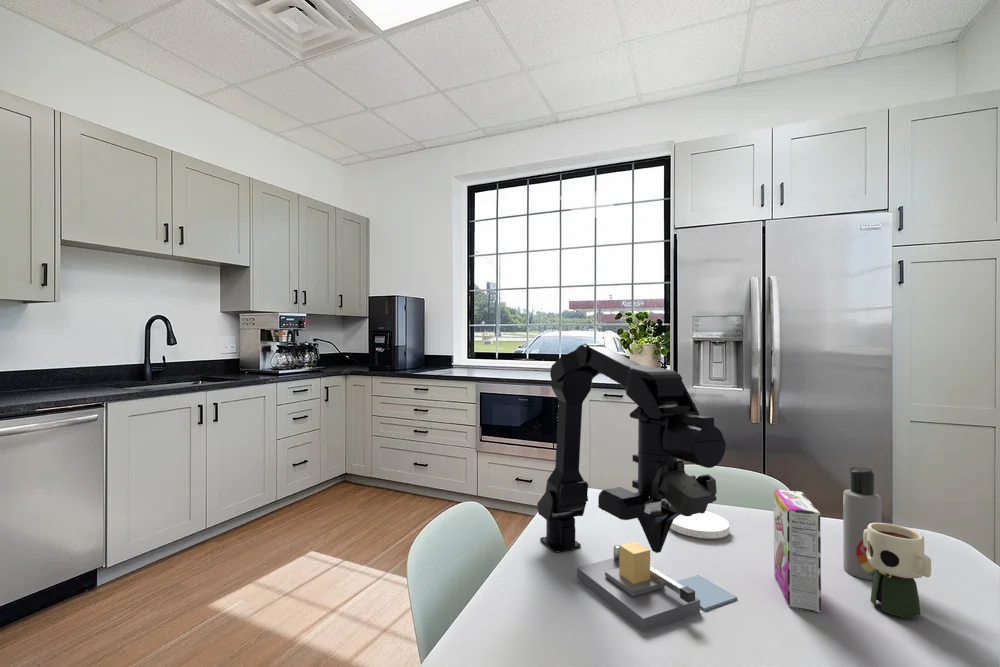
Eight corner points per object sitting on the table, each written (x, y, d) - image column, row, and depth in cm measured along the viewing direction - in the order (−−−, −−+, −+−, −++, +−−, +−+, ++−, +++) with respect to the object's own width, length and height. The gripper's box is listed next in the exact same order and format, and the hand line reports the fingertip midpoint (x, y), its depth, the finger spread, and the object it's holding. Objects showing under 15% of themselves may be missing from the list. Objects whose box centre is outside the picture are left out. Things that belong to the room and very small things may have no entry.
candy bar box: (771, 575, 85) (772, 487, 86) (803, 580, 84) (803, 491, 84) (786, 608, 75) (786, 507, 75) (822, 614, 73) (822, 512, 73)
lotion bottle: (888, 582, 83) (888, 473, 84) (853, 579, 84) (853, 471, 85) (870, 567, 89) (870, 465, 89) (837, 564, 90) (837, 463, 90)
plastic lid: (657, 532, 105) (657, 521, 105) (672, 514, 116) (672, 504, 116) (724, 549, 97) (724, 537, 97) (733, 527, 108) (733, 516, 108)
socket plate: (576, 578, 83) (576, 567, 83) (627, 564, 88) (627, 554, 88) (643, 632, 68) (643, 618, 68) (699, 612, 73) (700, 599, 73)
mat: (666, 586, 81) (666, 584, 81) (698, 576, 84) (698, 574, 84) (704, 610, 74) (704, 608, 74) (737, 599, 77) (737, 596, 77)
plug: (604, 588, 80) (605, 543, 80) (635, 580, 83) (635, 536, 83) (632, 610, 74) (633, 560, 74) (664, 600, 77) (665, 552, 77)
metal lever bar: (611, 557, 87) (611, 545, 87) (618, 555, 87) (618, 544, 87) (687, 608, 70) (688, 593, 70) (695, 605, 71) (695, 591, 71)
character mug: (846, 593, 79) (846, 518, 80) (882, 591, 80) (882, 517, 81) (909, 633, 69) (909, 546, 69) (950, 630, 70) (950, 544, 70)
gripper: (649, 471, 60) (648, 591, 59) (744, 457, 68) (743, 562, 67) (596, 452, 70) (595, 554, 69) (684, 442, 78) (683, 533, 77)
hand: (656, 551), depth 71 cm, fingers closed
